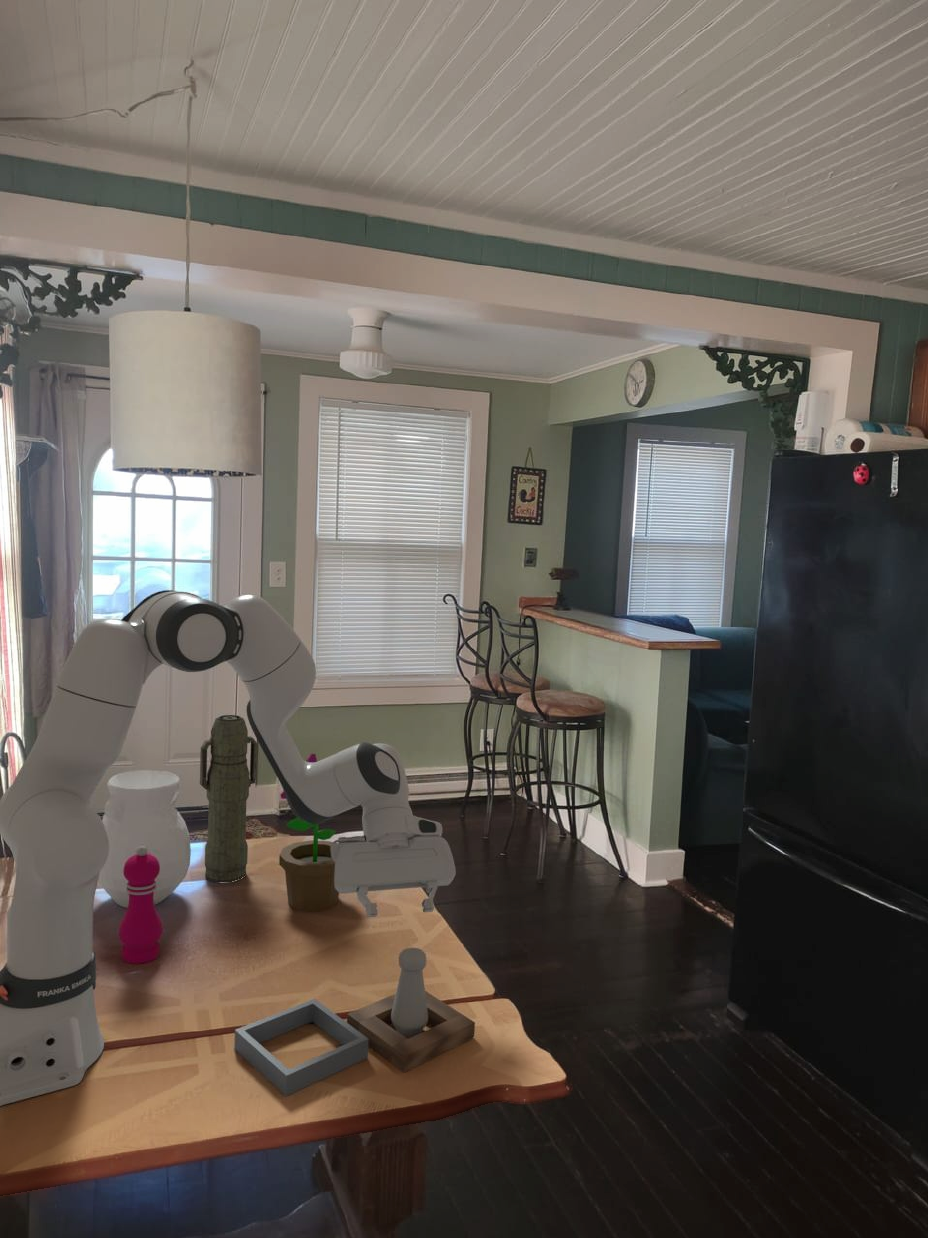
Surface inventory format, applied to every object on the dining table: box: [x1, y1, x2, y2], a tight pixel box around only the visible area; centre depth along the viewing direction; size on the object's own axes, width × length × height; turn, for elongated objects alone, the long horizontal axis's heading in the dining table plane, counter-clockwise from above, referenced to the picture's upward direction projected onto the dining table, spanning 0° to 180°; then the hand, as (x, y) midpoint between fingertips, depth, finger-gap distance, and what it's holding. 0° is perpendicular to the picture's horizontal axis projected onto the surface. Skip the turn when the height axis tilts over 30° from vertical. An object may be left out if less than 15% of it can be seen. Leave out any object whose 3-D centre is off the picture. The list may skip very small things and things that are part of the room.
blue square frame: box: [233, 998, 369, 1097], centre depth 132 cm, size 14×14×3 cm
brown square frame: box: [346, 990, 476, 1073], centre depth 138 cm, size 14×14×2 cm
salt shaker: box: [391, 947, 428, 1039], centre depth 138 cm, size 6×6×13 cm
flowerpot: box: [278, 753, 340, 912], centre depth 182 cm, size 14×14×30 cm
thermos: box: [199, 714, 258, 884], centre depth 192 cm, size 9×12×35 cm
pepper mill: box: [118, 846, 163, 965], centre depth 157 cm, size 7×7×20 cm
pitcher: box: [98, 769, 192, 909], centre depth 179 cm, size 19×18×25 cm
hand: (400, 913), depth 145 cm, fingers open, 8 cm apart
